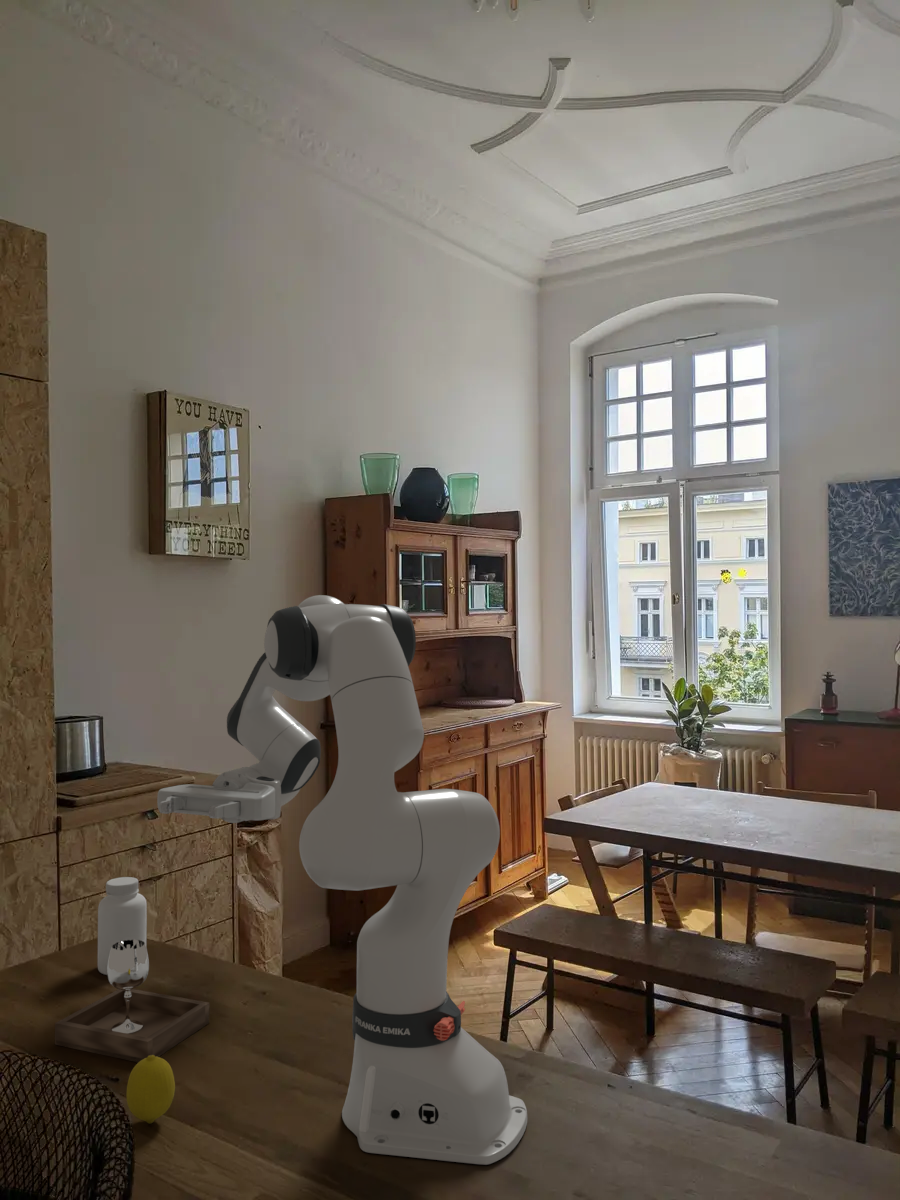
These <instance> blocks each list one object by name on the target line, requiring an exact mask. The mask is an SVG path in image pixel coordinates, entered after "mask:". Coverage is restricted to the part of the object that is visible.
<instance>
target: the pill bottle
mask: <svg viewBox="0 0 900 1200" xmlns="http://www.w3.org/2000/svg"><path fill="white" fill-rule="evenodd" d="M139 892H140V890H139V879H138V878H136V877H131V876H122V877H120V876H119V877H116V878H112V879H108V881H106V882H105V893H106V896H104V897H103V898H101V900H100V901H99V903H98V907H97V970H98V972H99V973H100V974H103V975H104V976H105V975H106V976H108V975H107V965H108V959H109V954H110V950H111V947H112V945H113V944H114V943H116V942H119V941H123V940H132V939H135V940H142V941H144V942H145V945H146V946H147V926H148V925H147V921H148V919H147V916H148V915H147V914H148V913H147V912H148V911H147V909H148V908H147V906H148V904H147V899H146V897H145V896H144V895H143V894H141V893H139Z"/></svg>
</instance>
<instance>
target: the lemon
mask: <svg viewBox="0 0 900 1200" xmlns="http://www.w3.org/2000/svg"><path fill="white" fill-rule="evenodd" d="M136 1063H137V1064H135V1065H134V1067H133V1068H132V1069H131V1072H130V1074H129V1077H128V1079H127V1085H126V1094H125V1095H126V1104H127V1107H128V1108H129V1111H130V1113H131V1114H132V1115H133V1116H134V1117H135V1118H136V1119H139V1120H141V1121H145V1122H146V1123H147V1124H152V1123H154V1122H155V1121H156V1119H159V1118H161V1117H162V1116H163V1115H164V1114H166V1112H167V1111H168V1110H169V1109H170V1107H171V1105H172V1103H173V1100H174V1096H175V1092H176V1081H175V1075H174V1072H173V1068H172V1067H171V1065H170V1063H169V1062H168V1061H167V1060H166V1059H164V1058H162V1057H161V1056H159V1057H155V1056H154V1055H149V1056H148V1057H147V1058H145V1059H143V1060H141V1061H140V1062H136Z"/></svg>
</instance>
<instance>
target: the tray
mask: <svg viewBox="0 0 900 1200" xmlns="http://www.w3.org/2000/svg"><path fill="white" fill-rule="evenodd" d="M125 992H126V990H121V989H117V990H114V991H113V992H111V993H109V994H107V995H105V996H104V997H102V998H100V999H98V1000H96V1001H94V1002H92V1003H90V1004H88V1005H86V1006H84V1007H83V1008H81V1009H79V1010H77V1011H75V1012H73V1013H72V1014H69V1015H68V1016H66V1017H64V1018H62V1019H60V1020H58V1021H57V1022H55V1023H54V1045H56V1046H60V1047H64V1048H69V1049H74V1050H77V1051H78V1050H79V1051H83V1052H88V1053H94V1054H98V1055H101V1056H102V1055H103V1056H107V1057H112V1058H117V1059H120V1060H121V1059H122V1060H126V1061H131V1062H136V1063H139V1062H140V1061H141V1060H143V1059H145V1058H147V1057H148V1056H149V1055H154V1056H155V1057H161V1056H162V1055H163V1054H165V1053H167V1052H168V1051H169V1050H171V1049H172V1048H174V1047H175V1046H177V1045H179V1044H180V1043H181V1042H183V1041H185V1040H186V1039H187V1038H189V1037H191V1036H192V1035H194V1034H195V1033H196V1032H198V1031H200V1030H201V1029H203V1028H204V1027H205V1026H207V1025H209V1024H210V1002H208V1001H201V1000H197V999H196V1000H195V999H190V998H184V997H180V996H175V995H168V994H162V993H158V992H152V991H146V990H140V989H136V988H134V989H131V990H130V992H131V995H132V996H131V1000H130V1005H129V1017H130V1020H135V1021H140V1022H142V1023H143V1025H144V1026H143V1028H142V1029H141V1030H139V1031H137V1032H134V1033H130V1034H126V1033H121V1032H116V1031H111V1028H112V1027H113V1026H114V1025H115V1024H117V1023H120V1022H123V1021H125V1018H126V1003H125V999H124V994H125Z"/></svg>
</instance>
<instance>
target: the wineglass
mask: <svg viewBox="0 0 900 1200" xmlns="http://www.w3.org/2000/svg"><path fill="white" fill-rule="evenodd" d="M149 971H150V960H149V954H148V948H147V944H146V945H145V942H144V941H142V940H135V939H132V940H123V941H119V942H116V943H114V944H113V945H112V947H111V950H110V954H109V959H108V965H107V975H106V976H107V979H108V982H109V984H110V985H111V986H112V987H114V989H117V990H118V989H121V990H126V992H125V994H124V999H125V1003H126V1018H125V1021H123V1022H120V1023H117V1024H115V1025H114V1026H113V1027H112V1028H111V1031H116V1032H121V1033H126V1034H130V1033H134V1032H137V1031H139V1030H141V1029H142V1028H143V1026H144V1025H143V1023H142V1022H140V1021H135V1020H130V1017H129V1005H130V1000H131V996H132V995H131V992H130V990H131V989H136V988H137V987H140V986H141V985H143V983H144V982H145V981H146V980H147V977H148V975H149Z"/></svg>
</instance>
